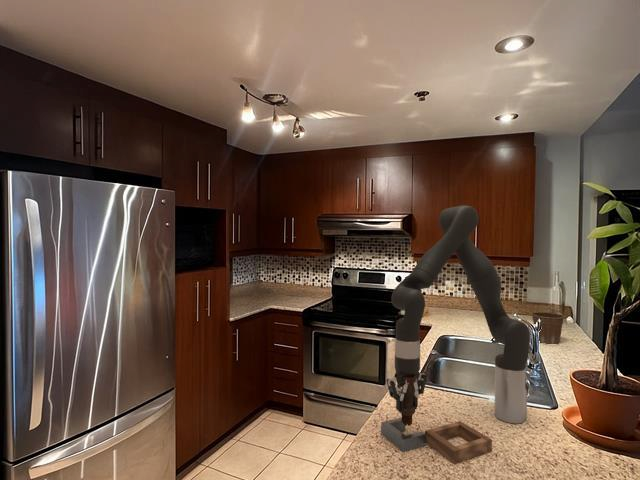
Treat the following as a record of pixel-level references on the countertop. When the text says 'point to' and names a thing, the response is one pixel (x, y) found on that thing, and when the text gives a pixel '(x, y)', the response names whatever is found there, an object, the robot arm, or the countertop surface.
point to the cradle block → (402, 435)
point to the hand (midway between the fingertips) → (406, 409)
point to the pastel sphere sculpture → (423, 313)
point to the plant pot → (549, 327)
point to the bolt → (408, 401)
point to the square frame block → (456, 454)
